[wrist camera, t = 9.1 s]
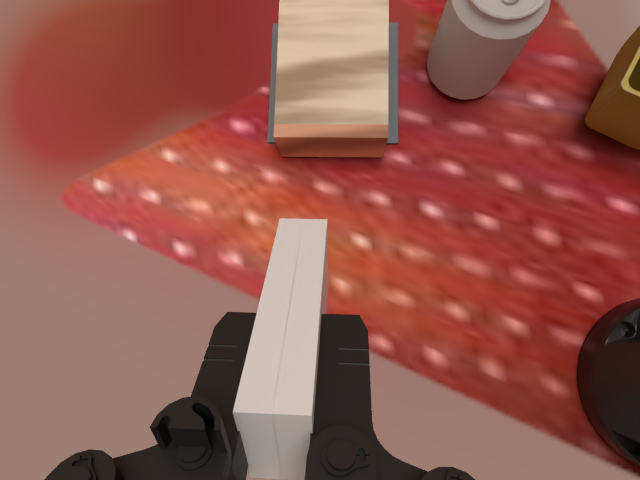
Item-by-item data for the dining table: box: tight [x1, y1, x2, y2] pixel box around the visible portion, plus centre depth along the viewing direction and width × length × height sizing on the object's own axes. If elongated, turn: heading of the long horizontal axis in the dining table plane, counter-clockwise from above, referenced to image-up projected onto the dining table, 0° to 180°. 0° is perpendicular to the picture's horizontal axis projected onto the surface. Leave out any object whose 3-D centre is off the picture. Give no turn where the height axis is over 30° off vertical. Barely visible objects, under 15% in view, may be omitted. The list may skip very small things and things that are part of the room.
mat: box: [268, 23, 398, 144], centre depth 42 cm, size 13×13×1 cm
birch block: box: [274, 0, 389, 157], centre depth 39 cm, size 5×10×14 cm
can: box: [427, 0, 551, 100], centre depth 36 cm, size 8×8×12 cm
